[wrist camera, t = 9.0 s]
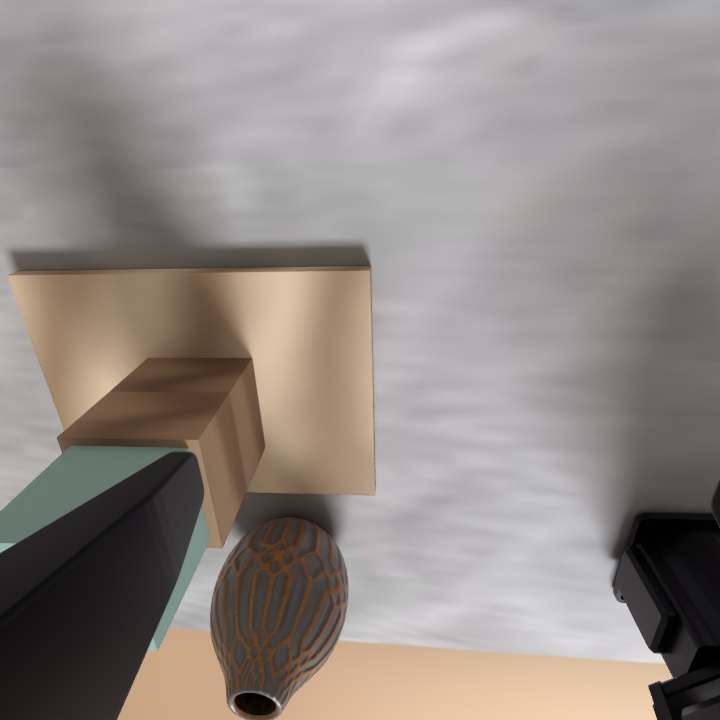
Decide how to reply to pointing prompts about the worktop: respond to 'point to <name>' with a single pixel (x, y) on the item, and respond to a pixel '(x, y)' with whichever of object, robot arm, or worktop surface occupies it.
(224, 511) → the tower top
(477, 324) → the worktop surface
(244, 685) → the vase
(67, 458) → the cube
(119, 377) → the beech board
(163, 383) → the tower base
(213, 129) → the worktop surface
